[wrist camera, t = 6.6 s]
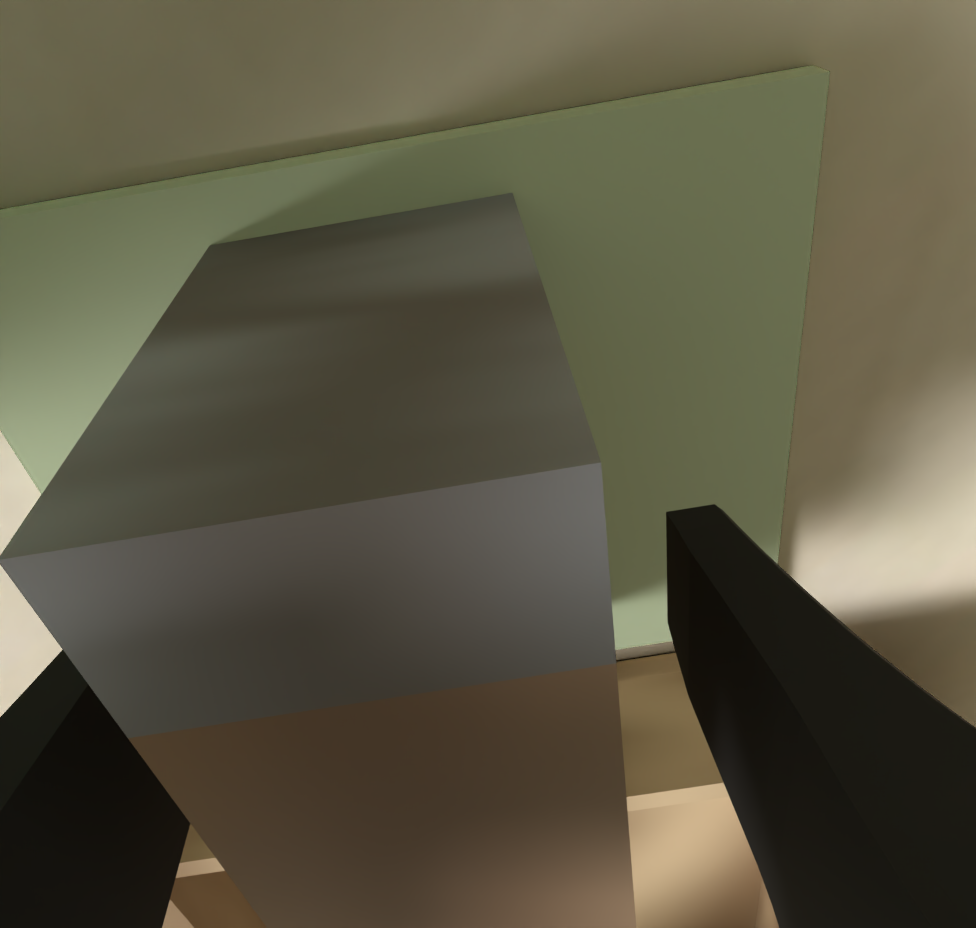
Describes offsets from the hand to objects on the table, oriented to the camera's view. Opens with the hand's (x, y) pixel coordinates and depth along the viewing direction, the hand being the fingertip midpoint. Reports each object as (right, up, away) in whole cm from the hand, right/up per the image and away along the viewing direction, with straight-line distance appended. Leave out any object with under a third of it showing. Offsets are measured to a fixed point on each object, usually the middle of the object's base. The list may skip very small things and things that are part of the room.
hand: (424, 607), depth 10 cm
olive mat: (0, +2, +3) cm, 3 cm away
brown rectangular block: (0, +2, +2) cm, 3 cm away
